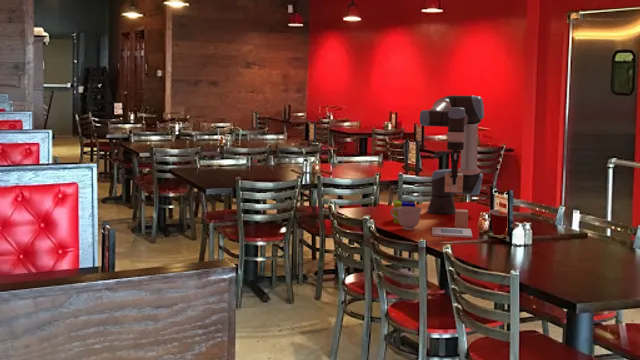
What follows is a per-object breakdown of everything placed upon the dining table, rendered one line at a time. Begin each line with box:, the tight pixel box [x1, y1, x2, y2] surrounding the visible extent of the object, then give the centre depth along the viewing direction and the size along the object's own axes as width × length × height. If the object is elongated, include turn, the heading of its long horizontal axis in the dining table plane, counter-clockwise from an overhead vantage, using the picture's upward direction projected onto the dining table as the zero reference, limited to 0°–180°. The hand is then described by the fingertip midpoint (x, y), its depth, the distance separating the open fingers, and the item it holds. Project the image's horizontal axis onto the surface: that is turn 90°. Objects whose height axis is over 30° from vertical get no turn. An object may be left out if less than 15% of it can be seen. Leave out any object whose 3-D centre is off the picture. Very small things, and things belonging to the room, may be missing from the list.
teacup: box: [390, 206, 423, 231], centre depth 385 cm, size 12×15×10 cm
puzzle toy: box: [392, 200, 416, 224], centre depth 405 cm, size 10×10×10 cm
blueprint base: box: [431, 226, 473, 239], centre depth 377 cm, size 18×18×1 cm
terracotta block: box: [454, 208, 469, 229], centre depth 395 cm, size 6×6×8 cm
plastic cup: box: [488, 209, 514, 235], centre depth 369 cm, size 11×11×12 cm
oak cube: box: [445, 173, 463, 193], centre depth 374 cm, size 8×8×8 cm
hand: (453, 190), depth 374 cm, fingers closed on oak cube, 8 cm apart
